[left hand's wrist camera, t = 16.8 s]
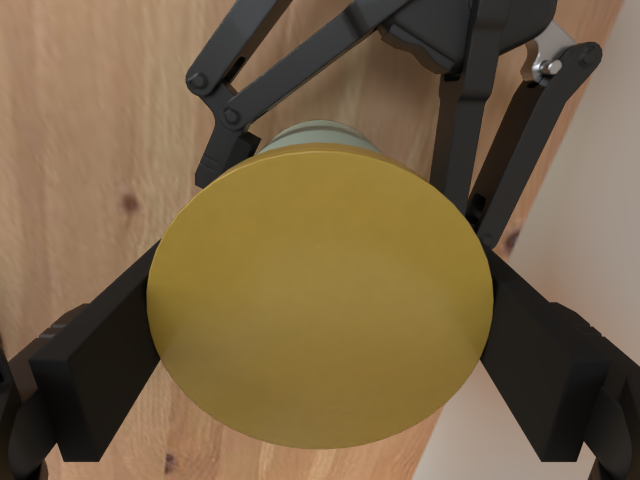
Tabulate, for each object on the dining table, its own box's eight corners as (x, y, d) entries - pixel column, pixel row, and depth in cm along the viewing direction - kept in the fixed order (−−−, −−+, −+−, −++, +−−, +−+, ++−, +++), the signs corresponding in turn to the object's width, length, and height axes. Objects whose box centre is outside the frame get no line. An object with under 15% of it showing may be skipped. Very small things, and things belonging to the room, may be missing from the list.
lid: (104, 251, 11) (70, 276, 10) (379, 68, 9) (391, 63, 8) (280, 445, 14) (275, 488, 13) (517, 335, 12) (545, 369, 11)
